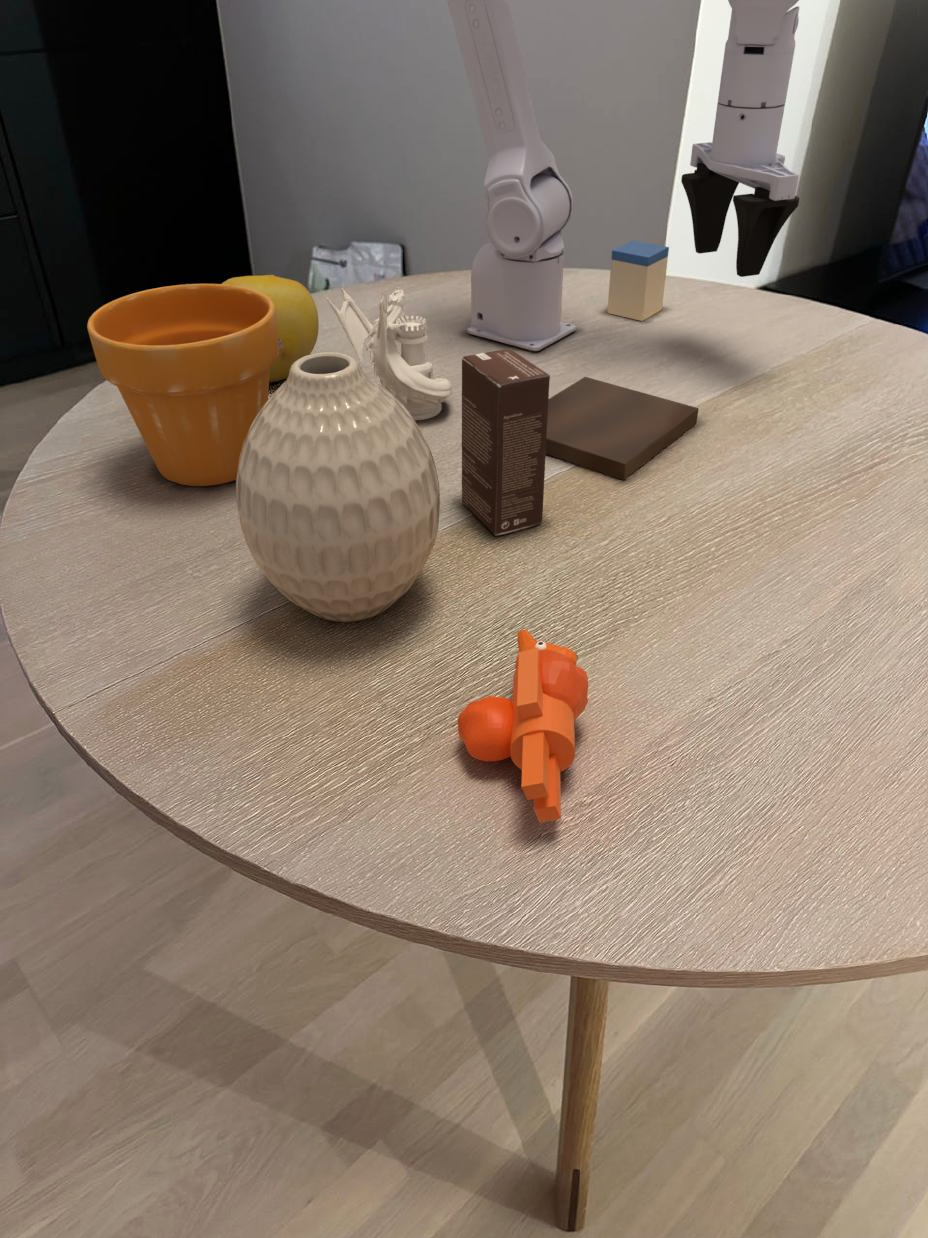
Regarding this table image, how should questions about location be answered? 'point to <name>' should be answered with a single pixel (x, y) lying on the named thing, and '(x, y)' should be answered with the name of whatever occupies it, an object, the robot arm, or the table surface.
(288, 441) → the vase
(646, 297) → the carton
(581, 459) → the board
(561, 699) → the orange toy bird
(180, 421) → the flower pot
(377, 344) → the figurine
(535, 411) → the box
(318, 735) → the table surface
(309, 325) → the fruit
